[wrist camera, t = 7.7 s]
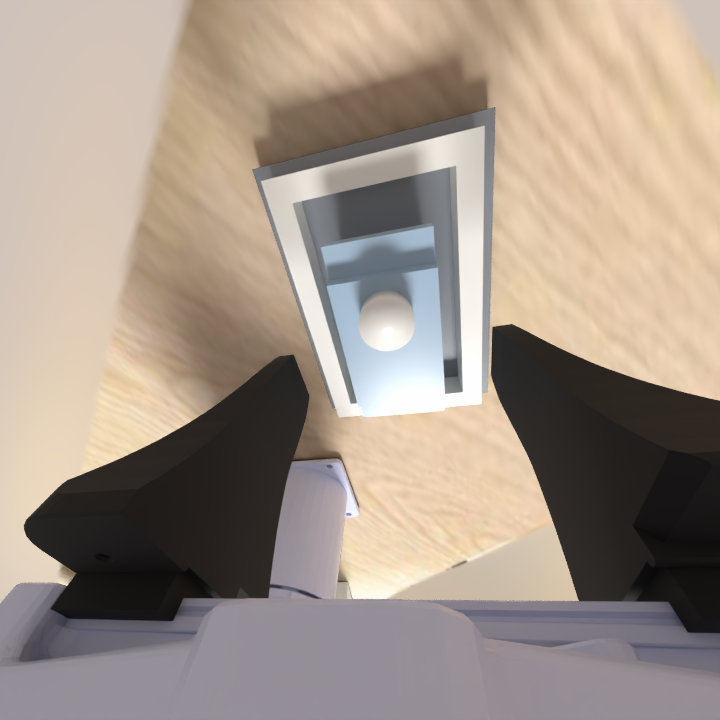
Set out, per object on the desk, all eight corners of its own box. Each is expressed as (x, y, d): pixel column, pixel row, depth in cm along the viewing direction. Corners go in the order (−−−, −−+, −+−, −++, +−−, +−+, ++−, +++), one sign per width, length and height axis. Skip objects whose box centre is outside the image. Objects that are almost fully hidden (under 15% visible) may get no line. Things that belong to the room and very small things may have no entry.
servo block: (368, 372, 19) (361, 441, 14) (336, 226, 14) (311, 259, 10) (434, 364, 18) (450, 435, 14) (422, 209, 14) (440, 236, 9)
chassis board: (334, 398, 22) (329, 424, 20) (260, 168, 14) (238, 170, 12) (483, 382, 20) (494, 408, 18) (488, 110, 12) (508, 101, 10)
